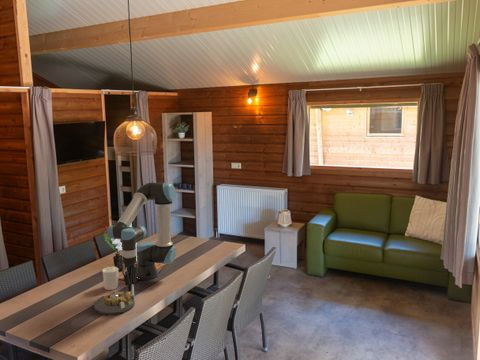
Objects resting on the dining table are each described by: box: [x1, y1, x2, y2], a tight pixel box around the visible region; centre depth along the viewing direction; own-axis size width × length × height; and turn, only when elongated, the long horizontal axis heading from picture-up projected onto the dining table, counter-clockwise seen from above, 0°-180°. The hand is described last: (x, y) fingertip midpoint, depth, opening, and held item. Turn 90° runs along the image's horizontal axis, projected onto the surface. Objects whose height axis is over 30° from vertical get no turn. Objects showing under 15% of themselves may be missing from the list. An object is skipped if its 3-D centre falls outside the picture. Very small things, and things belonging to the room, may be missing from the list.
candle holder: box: [101, 266, 119, 291], centre depth 260 cm, size 10×10×12 cm
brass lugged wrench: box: [103, 289, 131, 306], centre depth 234 cm, size 17×11×7 cm, turn 67°
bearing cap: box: [93, 292, 135, 316], centre depth 235 cm, size 22×22×7 cm
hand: (131, 295), depth 234 cm, fingers closed
